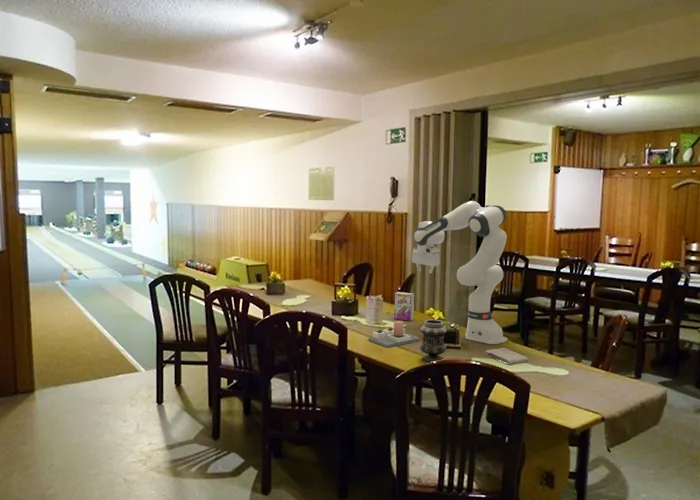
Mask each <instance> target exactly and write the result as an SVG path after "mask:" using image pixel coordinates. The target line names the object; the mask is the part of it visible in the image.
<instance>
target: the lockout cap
mask: <svg viewBox="0 0 700 500" xmlns="http://www.w3.org/2000/svg"><path fill="white" fill-rule="evenodd" d="M404 323H405V322H404V320H394V321H393V328H394V337H396V338H401V337H404V329H405V328H404V327H405V324H404Z"/></svg>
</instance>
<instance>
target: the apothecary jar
mask: <svg viewBox="0 0 700 500" xmlns="http://www.w3.org/2000/svg"><path fill="white" fill-rule="evenodd" d="M447 331H448V329H447V328H446V326H445V325H444V321H442V320H440V319H432V318H431V319H425V320H424V324H423V325H421V327H420V332H421V334H422V336H423V337H422V342H421V343H420V345H419V349H420V351H421V352H422V353H424V354H426V355H424V356H422V357H421V360H422V361H424V362H427V363H431V361H436V360H441V359H444V357H443V356H441V355H442V354H444V353H445V352H446V351H447V345H446V344H445V343H444V342H445V341H444V340H445V335H446V333H447Z"/></svg>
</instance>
